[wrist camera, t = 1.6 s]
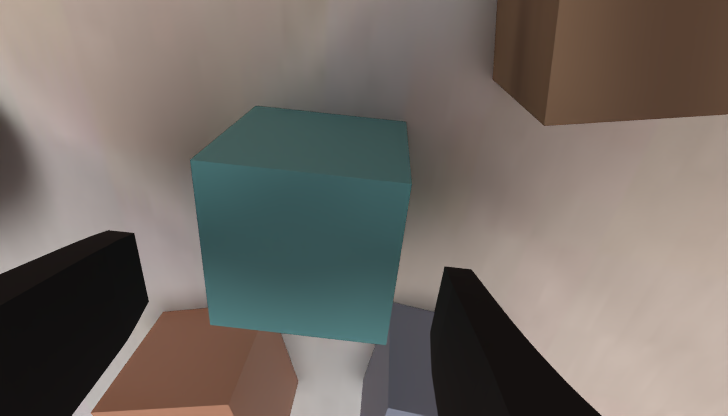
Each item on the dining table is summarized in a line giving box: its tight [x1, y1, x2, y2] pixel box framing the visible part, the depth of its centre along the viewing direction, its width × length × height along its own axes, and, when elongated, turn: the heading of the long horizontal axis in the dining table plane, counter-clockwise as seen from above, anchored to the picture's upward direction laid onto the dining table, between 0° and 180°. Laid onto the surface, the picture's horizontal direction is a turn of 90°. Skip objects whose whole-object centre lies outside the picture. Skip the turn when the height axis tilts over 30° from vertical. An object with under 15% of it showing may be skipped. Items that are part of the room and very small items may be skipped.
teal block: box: [190, 106, 412, 345], centre depth 12 cm, size 5×5×5 cm
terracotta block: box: [91, 308, 298, 416], centre depth 17 cm, size 5×5×5 cm
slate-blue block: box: [360, 303, 438, 416], centre depth 16 cm, size 5×5×5 cm
